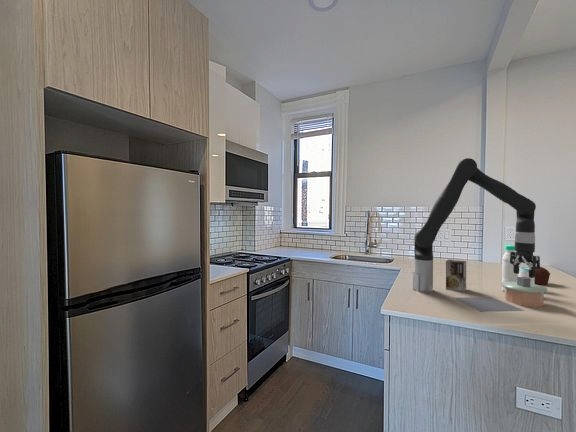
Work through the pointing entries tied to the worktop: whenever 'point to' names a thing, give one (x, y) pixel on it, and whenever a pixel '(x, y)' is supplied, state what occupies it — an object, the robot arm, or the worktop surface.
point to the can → (526, 274)
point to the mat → (487, 304)
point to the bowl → (524, 298)
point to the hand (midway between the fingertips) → (523, 275)
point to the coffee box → (456, 275)
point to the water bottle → (508, 266)
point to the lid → (524, 286)
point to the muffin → (541, 276)
